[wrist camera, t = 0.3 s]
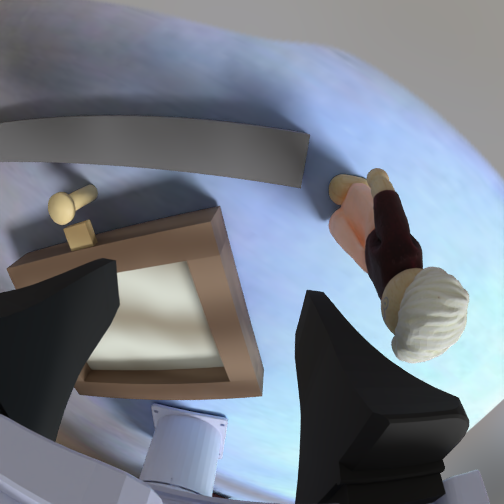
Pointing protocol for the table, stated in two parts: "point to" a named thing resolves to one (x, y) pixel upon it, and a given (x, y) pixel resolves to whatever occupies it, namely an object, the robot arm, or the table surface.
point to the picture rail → (154, 149)
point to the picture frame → (162, 309)
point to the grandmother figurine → (397, 267)
